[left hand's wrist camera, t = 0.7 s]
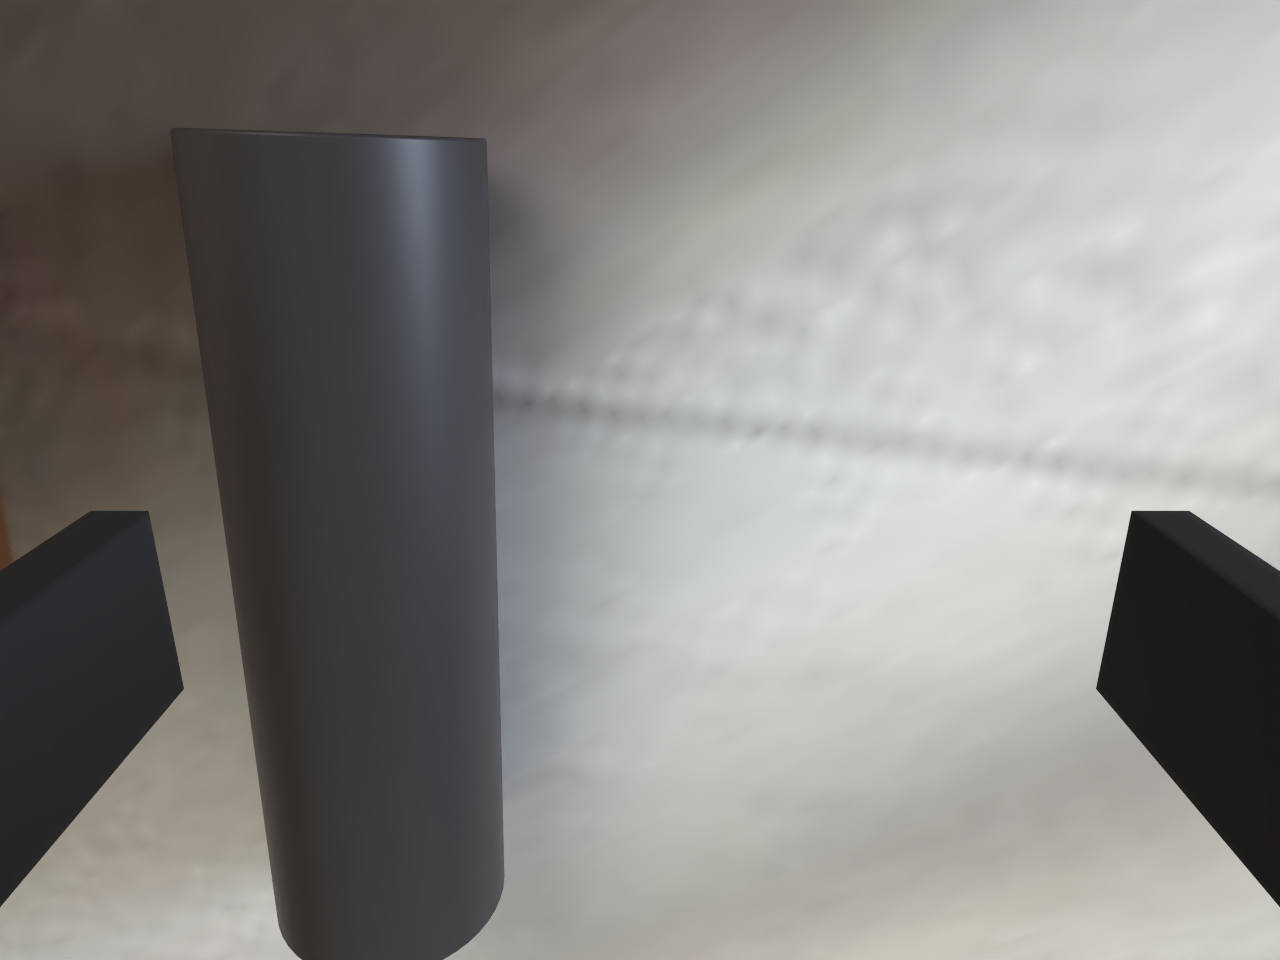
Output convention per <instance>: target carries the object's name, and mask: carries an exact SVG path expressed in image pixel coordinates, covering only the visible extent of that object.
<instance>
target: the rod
mask: <svg viewBox="0 0 1280 960" xmlns="http://www.w3.org/2000/svg"><path fill="white" fill-rule="evenodd" d="M170 134H171V142H172V149H173V156H174V163H175V171H176V178H177V185H178V193H179V200H180V207H181V215H182V222H183V229H184V237H185V244H186V251H187V259H188V266H189V273H190V281H191V288H192V295H193V302H194V310H195V317H196V324H197V332H198V339H199V346H200V354H201V361H202V368H203V376H204V383H205V390H206V398H207V405H208V412H209V420H210V427H211V434H212V441H213V449H214V456H215V463H216V471H217V478H218V485H219V493H220V500H221V507H222V515H223V522H224V529H225V537H226V544H227V551H228V559H229V566H230V573H231V581H232V588H233V595H234V602H235V610H236V617H237V624H238V632H239V639H240V646H241V654H242V661H243V668H244V676H245V683H246V690H247V698H248V705H249V712H250V720H251V727H252V734H253V741H254V749H255V756H256V763H257V771H258V778H259V785H260V793H261V800H262V807H263V815H264V822H265V829H266V837H267V844H268V851H269V859H270V866H271V873H272V881H273V888H274V895H275V902H276V910H277V917H278V924H279V928H280V931H281V933H282V936H283V938H284V940H285V941H286V943H287V945H288V946H289V947H290V948H291V950H292V951H293V952H294V953H295V954H296V955H297V956H298V957H299V958H301V959H302V960H443V959H445V958H447V957H448V956H450V955H452V954H453V953H455V952H456V951H458V950H459V949H460V948H462V947H463V946H464V945H466V944H467V943H468V942H469V941H470V940H471V939H473V938H474V937H475V936H476V935H477V934H478V933H479V932H480V931H481V929H482V928H483V927H484V926H485V924H486V923H487V922H488V921H489V919H490V917H491V916H492V914H493V913H494V911H495V909H496V907H497V905H498V902H499V900H500V897H501V894H502V890H503V884H504V845H503V804H502V762H501V720H500V679H499V637H498V595H497V554H496V512H495V470H494V429H493V387H492V345H491V304H490V262H489V220H488V179H487V142H486V140H485V139H483V138H458V137H430V136H402V135H374V134H345V133H316V132H287V131H257V130H227V129H197V128H172V129H171V130H170Z"/></svg>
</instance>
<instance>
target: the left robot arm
mask: <svg viewBox="0 0 1280 960" xmlns="http://www.w3.org/2000/svg"><path fill="white" fill-rule="evenodd" d="M183 689H184V687H183V682H182V677H181V672H180V667H179V662H178V657H177V652H176V647H175V642H174V637H173V632H172V627H171V622H170V617H169V612H168V607H167V602H166V597H165V592H164V587H163V582H162V577H161V572H160V567H159V562H158V557H157V552H156V547H155V542H154V537H153V532H152V527H151V522H150V517H149V512H148V511H90V512H89V513H87V514H86V515H84V516H83V517H81V518H80V519H78V520H77V521H75V522H74V523H72V524H71V525H69V526H68V527H66V528H65V529H63V530H62V531H60V532H59V533H57V534H56V535H54V536H53V537H51V538H50V539H48V540H46V541H45V542H43V543H42V544H40V545H39V546H37V547H36V548H34V549H33V550H31V551H30V552H28V553H27V554H25V555H24V556H22V557H21V558H19V559H18V560H16V561H15V562H13V563H12V564H10V565H9V566H7V567H6V568H4V569H3V570H1V571H0V907H1V905H2V904H3V903H4V902H5V901H6V899H7V898H8V897H9V896H10V895H11V893H12V892H13V891H14V890H15V889H16V888H17V886H18V885H19V884H20V883H21V882H22V880H23V879H24V878H25V877H26V876H27V874H28V873H29V872H30V871H31V870H32V869H33V867H34V866H35V865H36V864H37V863H38V861H39V860H40V859H41V858H42V857H43V855H44V854H45V853H46V852H47V851H48V850H49V848H50V847H51V846H52V845H53V844H54V842H55V841H56V840H57V839H58V838H59V836H60V835H61V834H62V833H63V832H64V831H65V829H66V828H67V827H68V826H69V825H70V823H71V822H72V821H73V820H74V819H75V817H76V816H77V815H78V814H79V813H80V812H81V810H82V809H83V808H84V807H85V806H86V804H87V803H88V802H89V801H90V800H91V798H92V797H93V796H94V795H95V794H96V793H97V791H98V790H99V789H100V788H101V787H102V785H103V784H104V783H105V782H106V781H107V779H108V778H109V777H110V776H111V775H112V774H113V772H114V771H115V770H116V769H117V768H118V766H119V765H120V764H121V763H122V762H123V760H124V759H125V758H126V757H127V756H128V755H129V753H130V752H131V751H132V750H133V749H134V747H135V746H136V745H137V744H138V743H139V741H140V740H141V739H142V738H143V737H144V735H145V734H146V733H147V732H148V731H149V730H150V728H151V727H152V726H153V725H154V724H155V722H156V721H157V720H158V719H159V718H160V716H161V715H162V714H163V713H164V712H165V711H166V709H167V708H168V707H169V706H170V705H171V703H172V702H173V701H174V700H175V699H176V697H177V696H178V695H179V694H180V693H181V692H182V690H183ZM1096 689H1097V690H1098V692H1099V693H1100V694H1101V695H1102V696H1103V697H1104V699H1105V700H1106V701H1107V702H1108V703H1109V705H1110V706H1111V707H1112V708H1113V709H1114V711H1115V712H1116V713H1117V714H1118V715H1119V716H1120V718H1121V719H1122V720H1123V721H1124V722H1125V724H1126V725H1127V726H1128V727H1129V728H1130V730H1131V731H1132V732H1133V733H1134V734H1135V736H1136V737H1137V738H1138V739H1139V740H1140V741H1141V743H1142V744H1143V745H1144V746H1145V747H1146V749H1147V750H1148V751H1149V752H1150V753H1151V755H1152V756H1153V757H1154V758H1155V759H1156V760H1157V762H1158V763H1159V764H1160V765H1161V766H1162V768H1163V769H1164V770H1165V771H1166V772H1167V774H1168V775H1169V776H1170V777H1171V778H1172V779H1173V781H1174V782H1175V783H1176V784H1177V785H1178V787H1179V788H1180V789H1181V790H1182V791H1183V793H1184V794H1185V795H1186V796H1187V797H1188V798H1189V800H1190V801H1191V802H1192V803H1193V804H1194V806H1195V807H1196V808H1197V809H1198V810H1199V812H1200V813H1201V814H1202V815H1203V816H1204V817H1205V819H1206V820H1207V821H1208V822H1209V823H1210V825H1211V826H1212V827H1213V828H1214V829H1215V831H1216V832H1217V833H1218V834H1219V835H1220V836H1221V838H1222V839H1223V840H1224V841H1225V842H1226V844H1227V845H1228V846H1229V847H1230V848H1231V850H1232V851H1233V852H1234V853H1235V854H1236V855H1237V857H1238V858H1239V859H1240V860H1241V861H1242V863H1243V864H1244V865H1245V866H1246V867H1247V869H1248V870H1249V871H1250V872H1251V873H1252V874H1253V876H1254V877H1255V878H1256V879H1257V880H1258V882H1259V883H1260V884H1261V885H1262V886H1263V888H1264V889H1265V890H1266V891H1267V892H1268V893H1269V895H1270V896H1271V897H1272V898H1273V899H1274V901H1275V902H1276V903H1277V904H1278V905H1279V907H1280V571H1279V570H1277V569H1276V568H1274V567H1273V566H1271V565H1270V564H1268V563H1267V562H1265V561H1264V560H1262V559H1261V558H1259V557H1258V556H1256V555H1255V554H1253V553H1252V552H1250V551H1249V550H1247V549H1246V548H1244V547H1243V546H1241V545H1240V544H1238V543H1237V542H1235V541H1234V540H1232V539H1230V538H1229V537H1227V536H1226V535H1224V534H1223V533H1221V532H1220V531H1218V530H1217V529H1215V528H1214V527H1212V526H1211V525H1209V524H1208V523H1206V522H1205V521H1203V520H1202V519H1200V518H1199V517H1197V516H1196V515H1194V514H1193V513H1191V512H1190V511H1132V512H1131V517H1130V522H1129V527H1128V532H1127V537H1126V542H1125V547H1124V552H1123V557H1122V562H1121V567H1120V572H1119V577H1118V582H1117V587H1116V592H1115V597H1114V602H1113V607H1112V612H1111V617H1110V622H1109V627H1108V632H1107V637H1106V642H1105V647H1104V652H1103V657H1102V662H1101V667H1100V672H1099V677H1098V682H1097V687H1096Z"/></svg>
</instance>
